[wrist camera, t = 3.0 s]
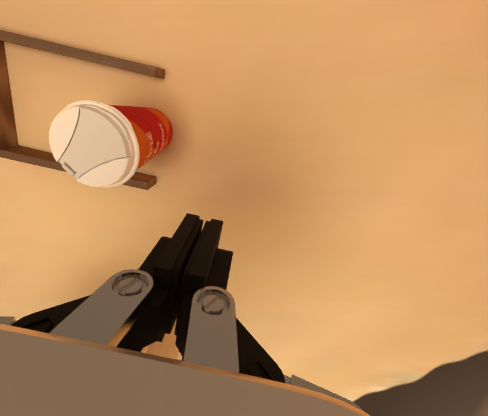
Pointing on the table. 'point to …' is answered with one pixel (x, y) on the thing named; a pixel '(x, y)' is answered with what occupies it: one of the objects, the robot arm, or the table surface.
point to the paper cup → (107, 140)
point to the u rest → (3, 124)
